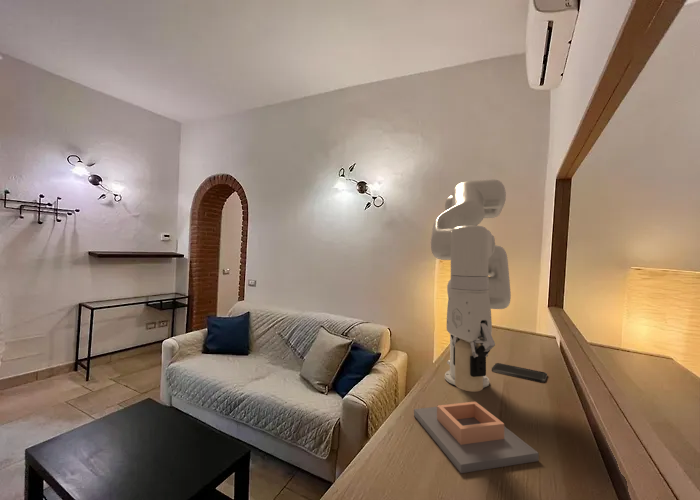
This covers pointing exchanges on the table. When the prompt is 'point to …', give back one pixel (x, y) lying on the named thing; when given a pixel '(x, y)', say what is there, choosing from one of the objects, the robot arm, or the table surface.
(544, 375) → the phone
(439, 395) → the table surface
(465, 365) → the candle
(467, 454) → the candle stand
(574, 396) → the table surface
